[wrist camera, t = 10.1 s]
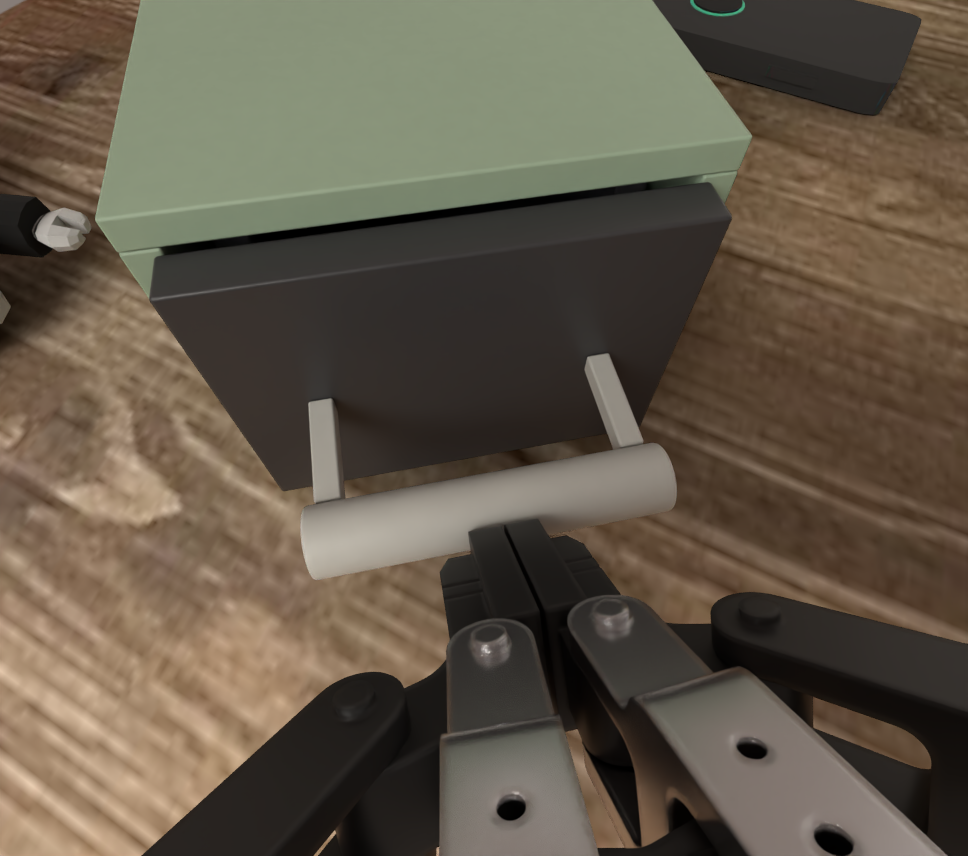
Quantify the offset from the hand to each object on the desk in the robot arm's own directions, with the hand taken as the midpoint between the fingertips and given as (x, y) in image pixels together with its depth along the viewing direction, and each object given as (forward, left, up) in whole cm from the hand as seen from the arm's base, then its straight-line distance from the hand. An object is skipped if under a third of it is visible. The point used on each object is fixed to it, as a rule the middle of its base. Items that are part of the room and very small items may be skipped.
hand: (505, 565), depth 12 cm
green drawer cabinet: (+13, -4, -5) cm, 14 cm away
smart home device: (+22, -28, -5) cm, 36 cm away
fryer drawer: (+9, -3, -4) cm, 10 cm away
